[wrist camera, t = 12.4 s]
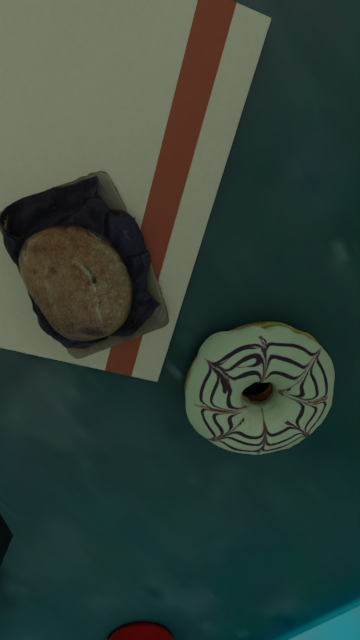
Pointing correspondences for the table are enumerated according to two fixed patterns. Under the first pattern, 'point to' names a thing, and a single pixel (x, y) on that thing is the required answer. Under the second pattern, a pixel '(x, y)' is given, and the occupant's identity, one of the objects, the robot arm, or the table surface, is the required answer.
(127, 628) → the soda can
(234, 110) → the towel
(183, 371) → the table surface
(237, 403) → the decorated donut
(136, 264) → the bread roll
